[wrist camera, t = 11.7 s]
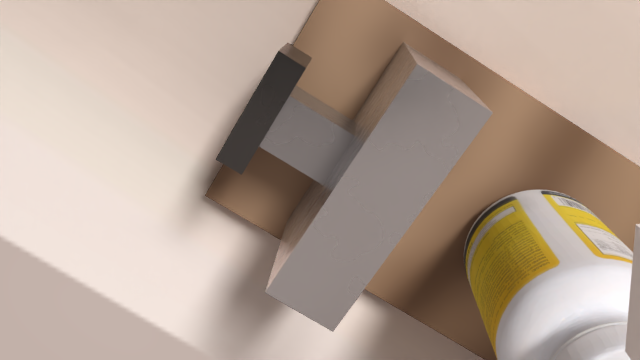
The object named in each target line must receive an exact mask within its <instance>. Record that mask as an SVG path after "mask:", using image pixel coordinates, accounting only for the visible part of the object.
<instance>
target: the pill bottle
mask: <svg viewBox="0 0 640 360" xmlns="http://www.w3.org/2000/svg"><path fill="white" fill-rule="evenodd" d="M632 262H633V252H632V251H631V250H630V249H629V248H628V247H627V246H626V245H625V244H624V243H623V242H622V241H621V240H620V239H619V238H618V237H617V236H616V235H615V234H614V233H613V232H612V231H611V230H610V229H609V228H608V227H607V226H606V225H605V224H604V223H603V222H602V221H601V220H600V219H599V218H598V217H597V216H596V215H595V214H594V213H593V212H592V211H591V210H590V209H588V208H587V207H586V206H585V205H583V204H582V203H581V202H579V201H578V200H576V199H574V198H572V197H570V196H568V195H565V194H563V193H559V192H556V191H550V190H526V191H521V192H517V193H514V194H511V195H508V196H506V197H504V198H502V199H500V200H498V201H497V202H495V203H493V204H492V205H491V206H489V207H488V208H487V209H486V210H485V211H484V212H483V213H482V214H481V215H480V216H479V217H478V218H477V220H476V221H475V222H474V224H473V226H472V227H471V229H470V231H469V234H468V236H467V239H466V243H465V248H464V266H465V271H466V275H467V279H468V282H469V284H470V286H471V289H472V292H473V295H474V297H475V300H476V303H477V306H478V308H479V311H480V314H481V317H482V319H483V322H484V325H485V328H486V331H487V333H488V336H489V339H490V341H491V344H492V347H493V350H494V352H495V355H496V358H497V360H631V359H630V357H629V356H628V355H627V353H626V352H625V345H626V333H627V322H628V310H629V298H630V286H631V274H632Z"/></svg>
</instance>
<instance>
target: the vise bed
mask: <svg viewBox="0 0 640 360" xmlns="http://www.w3.org/2000/svg"><path fill="white" fill-rule="evenodd" d="M403 42H404V43H406V44H407V45H409V46H410V47H412V48H414V49H415V50H417V51H418V52H420V53H421V54H423V55H424V56H426V57H428V58H429V59H431V60H432V61H434V62H435V63H437V64H438V65H440V66H441V67H443V68H445V69H446V70H448V71H449V72H451V73H452V74H454V75H455V76H457V77H459V78H460V79H461V80H462V81H463V82H464V83H465V84H466V85H467V86H468V87H469V88H470V89H471V90H472V91H473V92H474V93H475V94H476V95H477V96H478V97H479V98H480V100H481V101H482V102H483V103H484V104H485V105H486V106H487V107H488V108H489V109H490V110H491V111H492V112H493V113H492V115H491V116H490V118H489V119H488V120H487V122H486V123H485V124H484V126H483V127H482V129H481V130H480V131H479V133H478V134H477V135H476V137H475V138H474V139H473V141H472V142H471V144H470V145H469V146H468V148H467V149H466V150H465V152H464V153H463V155H462V156H461V157H460V159H459V160H458V161H457V163H456V164H455V165H454V167H453V168H452V170H451V171H450V172H449V174H448V175H447V176H446V178H445V179H444V181H443V182H442V183H441V185H440V186H439V187H438V189H437V190H436V191H435V193H434V194H433V196H432V197H431V198H430V200H429V201H428V202H427V204H426V205H425V206H424V208H423V209H422V211H421V212H420V213H419V215H418V216H417V217H416V219H415V220H414V222H413V223H412V224H411V226H410V227H409V228H408V230H407V231H406V232H405V234H404V235H403V237H402V238H401V239H400V241H399V242H398V243H397V245H396V246H395V248H394V249H393V250H392V252H391V253H390V254H389V256H388V257H387V258H386V260H385V261H384V263H383V264H382V265H381V267H380V268H379V269H378V271H377V272H376V274H375V275H374V276H373V278H372V279H371V280H370V282H369V283H368V284H367V286H366V287H365V289H366V290H367V291H369V292H371V293H372V294H374V295H376V296H377V297H379V298H381V299H383V300H384V301H386V302H388V303H389V304H391V305H393V306H395V307H396V308H398V309H400V310H401V311H403V312H405V313H407V314H408V315H410V316H412V317H413V318H415V319H417V320H418V321H420V322H422V323H424V324H425V325H427V326H429V327H430V328H432V329H434V330H436V331H437V332H439V333H441V334H442V335H444V336H446V337H448V338H449V339H451V340H453V341H454V342H456V343H458V344H459V345H461V346H463V347H465V348H466V349H468V350H470V351H471V352H473V353H475V354H477V355H478V356H480V357H482V358H483V359H485V360H497V358H496V355H495V352H494V350H493V347H492V344H491V341H490V339H489V336H488V333H487V331H486V328H485V325H484V322H483V319H482V317H481V314H480V311H479V308H478V306H477V303H476V300H475V297H474V295H473V292H472V289H471V286H470V284H469V282H468V279H467V275H466V271H465V266H464V248H465V243H466V239H467V236H468V234H469V231H470V229H471V227H472V226H473V224H474V222H475V221H476V220H477V218H478V217H479V216H480V215H481V214H482V213H483V212H484V211H485V210H486V209H487V208H488V207H489V206H491V205H492V204H493V203H495V202H497V201H498V200H500V199H502V198H504V197H506V196H508V195H511V194H514V193H517V192H521V191H526V190H550V191H556V192H559V193H563V194H565V195H568V196H570V197H572V198H574V199H576V200H578V201H579V202H581V203H582V204H583V205H585V206H586V207H587V208H588V209H590V210H591V211H592V212H593V213H594V214H595V215H596V216H597V217H598V218H599V219H600V220H601V221H602V222H603V223H604V224H605V225H606V226H607V227H608V228H609V229H610V230H611V231H612V232H613V233H614V234H615V235H616V236H617V237H618V238H619V239H620V240H621V241H622V242H623V243H624V244H625V245H626V246H627V247H628V248H629V249H630V250H631V251H632V252H633V250H634V238H635V226H636V224H640V167H639V166H638V165H636V164H635V163H633V162H632V161H630V160H629V159H627V158H625V157H624V156H622V155H621V154H619V153H618V152H616V151H615V150H613V149H612V148H610V147H609V146H607V145H606V144H604V143H602V142H601V141H599V140H598V139H596V138H595V137H593V136H592V135H590V134H589V133H587V132H586V131H584V130H582V129H581V128H579V127H578V126H576V125H575V124H573V123H572V122H570V121H569V120H567V119H566V118H564V117H563V116H561V115H559V114H558V113H556V112H555V111H553V110H552V109H550V108H549V107H547V106H546V105H544V104H543V103H541V102H540V101H538V100H536V99H535V98H533V97H532V96H530V95H529V94H527V93H526V92H524V91H523V90H521V89H520V88H518V87H517V86H515V85H513V84H512V83H510V82H509V81H507V80H506V79H504V78H503V77H501V76H500V75H498V74H497V73H495V72H493V71H492V70H490V69H489V68H487V67H486V66H484V65H483V64H481V63H480V62H478V61H477V60H475V59H474V58H472V57H470V56H469V55H467V54H466V53H464V52H463V51H461V50H460V49H458V48H457V47H455V46H454V45H452V44H451V43H449V42H447V41H446V40H444V39H443V38H441V37H440V36H438V35H437V34H435V33H434V32H432V31H431V30H429V29H428V28H426V27H424V26H423V25H421V24H420V23H418V22H417V21H415V20H414V19H412V18H411V17H409V16H408V15H406V14H404V13H403V12H401V11H400V10H398V9H397V8H395V7H394V6H392V5H391V4H389V3H388V2H386V1H385V0H319V2H318V4H317V6H316V7H315V9H314V11H313V12H312V14H311V16H310V17H309V19H308V21H307V23H306V24H305V26H304V28H303V29H302V31H301V33H300V34H299V36H298V38H297V40H296V41H295V43H294V45H293V46H294V47H296V48H297V49H299V50H301V51H302V52H304V53H305V54H307V55H309V56H310V57H312V59H311V61H310V63H309V64H308V66H307V68H306V69H305V71H304V73H303V74H302V76H301V77H300V79H299V81H298V82H297V84H296V86H298V87H300V88H301V89H303V90H304V91H306V92H308V93H309V94H311V95H312V96H314V97H316V98H317V99H319V100H321V101H322V102H324V103H325V104H327V105H329V106H330V107H332V108H333V109H335V110H337V111H338V112H340V113H341V114H343V115H345V116H346V117H348V118H350V119H351V120H353V119H354V117H355V116H356V114H357V113H358V111H359V110H360V108H361V106H362V105H363V103H364V102H365V100H366V99H367V97H368V96H369V94H370V93H371V91H372V90H373V88H374V86H375V85H376V83H377V82H378V80H379V79H380V77H381V76H382V74H383V73H384V71H385V70H386V68H387V66H388V65H389V63H390V62H391V60H392V59H393V57H394V56H395V54H396V53H397V51H398V50H399V48H400V46H401V45H402V43H403ZM313 180H314V179H312V178H311V177H309V176H307V175H306V174H304V173H302V172H301V171H299V170H297V169H296V168H294V167H292V166H291V165H289V164H287V163H286V162H284V161H282V160H281V159H279V158H277V157H276V156H274V155H272V154H271V153H269V152H267V151H266V150H264V149H262V148H261V147H258V149H257V150H256V152H255V154H254V155H253V157H252V159H251V160H250V162H249V164H248V165H247V167H246V169H245V170H244V172H243V174H242V175H241V174H239V173H238V172H236V171H234V170H233V169H231V168H229V167H228V166H226V165H224V164H223V166H222V167H221V169H220V171H219V172H218V174H217V176H216V177H215V179H214V181H213V183H212V184H211V186H210V188H209V189H208V191H207V193H206V194H205V196H207V197H208V198H210V199H212V200H213V201H215V202H217V203H219V204H220V205H222V206H224V207H225V208H227V209H229V210H231V211H232V212H234V213H236V214H237V215H239V216H241V217H242V218H244V219H246V220H248V221H249V222H251V223H253V224H254V225H256V226H258V227H260V228H261V229H263V230H265V231H266V232H268V233H270V234H272V235H273V236H275V237H277V238H278V239H280V240H281V239H282V235H283V232H284V229H285V226H286V222H287V220H288V219H289V217H290V216H291V214H292V213H293V211H294V210H295V208H296V206H297V205H298V203H299V202H300V200H301V199H302V197H303V196H304V194H305V193H306V191H307V190H308V188H309V186H310V185H311V183H312V182H313Z"/></svg>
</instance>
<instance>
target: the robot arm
mask: <svg viewBox="0 0 640 360" xmlns="http://www.w3.org/2000/svg"><path fill="white" fill-rule="evenodd" d="M625 352H626V353H627V355H628V356H629V357H630V359H631V360H640V224H636V226H635V238H634V250H633V262H632V274H631V286H630V298H629V310H628V322H627V333H626V345H625Z"/></svg>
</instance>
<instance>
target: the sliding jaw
mask: <svg viewBox="0 0 640 360" xmlns="http://www.w3.org/2000/svg"><path fill="white" fill-rule="evenodd" d="M311 59H312V57H310V56H309V55H307V54H305V53H304V52H302V51H301V50H299V49H297V48H296V47H294V46H293V45H291V44H289V43H287V44H286V45H285V46H283V47H282V48H281V49H280V50H279V51H278V53H277V54H276V56H275V58H274V60H273V61H272V63H271V65H270V67H269V68H268V70H267V72H266V73H265V75H264V77H263V79H262V80H261V82H260V84H259V85H258V87H257V89H256V91H255V92H254V94H253V96H252V97H251V99H250V101H249V103H248V104H247V106H246V108H245V110H244V111H243V113H242V115H241V116H240V118H239V120H238V122H237V123H236V125H235V127H234V128H233V130H232V132H231V134H230V135H229V137H228V139H227V141H226V142H225V144H224V146H223V147H222V149H221V151H220V153H219V154H218V156H217V158H216V160H217V161H219V162H221V163H223V164H224V165H226V166H228V167H229V168H231V169H233V170H234V171H236V172H238V173H239V174H241V175H242V174H243V172H244V170H245V169H246V167H247V165H248V164H249V162H250V160H251V159H252V157H253V155H254V154H255V152H256V150H257V149H258V147H261V148H262V149H264V150H266V151H267V152H269V153H271V154H272V155H274V156H276V157H277V158H279V159H281V160H282V161H284V162H286V163H287V164H289V165H291V166H292V167H294V168H296V169H297V170H299V171H301V172H302V173H304V174H306V175H307V176H309V177H311V178H312V179H314V180H313V182H312V183H311V185H310V186H309V188H308V190H307V191H306V193H305V194H304V196H303V197H302V199H301V200H300V202H299V203H298V205H297V206H296V208H295V210H294V211H293V213H292V214H291V216H290V217H289V219H288V220H287V222H286V226H285V229H284V232H283V235H282V239H281V242H280V245H279V248H278V252H277V255H276V258H275V261H274V265H273V268H272V271H271V274H270V278H269V281H268V284H267V287H266V291H265V293H266V294H268V295H270V296H271V297H273V298H275V299H277V300H278V301H280V302H282V303H284V304H285V305H287V306H289V307H291V308H292V309H294V310H296V311H298V312H299V313H301V314H303V315H305V316H306V317H308V318H310V319H312V320H313V321H315V322H317V323H319V324H320V325H322V326H324V327H326V328H327V329H329V330H331V331H334V330H335V328H336V327H337V325H338V324H339V323H340V321H341V320H342V319H343V317H344V316H345V315H346V313H347V312H348V310H349V309H350V308H351V306H352V305H353V304H354V302H355V301H356V300H357V298H358V297H359V295H360V294H361V293H362V291H363V290H364V289H365V287H366V286H367V284H368V283H369V282H370V280H371V279H372V278H373V276H374V275H375V274H376V272H377V271H378V269H379V268H380V267H381V265H382V264H383V263H384V261H385V260H386V258H387V257H388V256H389V254H390V253H391V252H392V250H393V249H394V248H395V246H396V245H397V243H398V242H399V241H400V239H401V238H402V237H403V235H404V234H405V232H406V231H407V230H408V228H409V227H410V226H411V224H412V223H413V222H414V220H415V219H416V217H417V216H418V215H419V213H420V212H421V211H422V209H423V208H424V206H425V205H426V204H427V202H428V201H429V200H430V198H431V197H432V196H433V194H434V193H435V191H436V190H437V189H438V187H439V186H440V185H441V183H442V182H443V181H444V179H445V178H446V176H447V175H448V174H449V172H450V171H451V170H452V168H453V167H454V165H455V164H456V163H457V161H458V160H459V159H460V157H461V156H462V155H463V153H464V152H465V150H466V149H467V148H468V146H469V145H470V144H471V142H472V141H473V139H474V138H475V137H476V135H477V134H478V133H479V131H480V130H481V129H482V127H483V126H484V124H485V123H486V122H487V120H488V119H489V118H490V116H491V115H492V113H493V112H492V111H491V110H490V109H489V108H488V107H487V106H486V105H485V104H484V103H483V102H482V101H481V100H480V98H479V97H478V96H477V95H476V94H475V93H474V92H473V91H472V90H471V89H470V88H469V87H468V86H467V85H466V84H465V83H464V82H463V81H462V80H461V79H460V78H459V77H457V76H455V75H454V74H452V73H451V72H449V71H448V70H446V69H445V68H443V67H441V66H440V65H438V64H437V63H435V62H434V61H432V60H431V59H429V58H428V57H426V56H424V55H423V54H421V53H420V52H418V51H417V50H415V49H414V48H412V47H410V46H409V45H407V44H406V43H404V42H403V43H402V45H401V46H400V48H399V50H398V51H397V53H396V54H395V56H394V57H393V59H392V60H391V62H390V63H389V65H388V66H387V68H386V70H385V71H384V73H383V74H382V76H381V77H380V79H379V80H378V82H377V83H376V85H375V86H374V88H373V90H372V91H371V93H370V94H369V96H368V97H367V99H366V100H365V102H364V103H363V105H362V106H361V108H360V110H359V111H358V113H357V114H356V116H355V117H354V119H353V120H351V119H350V118H348V117H346V116H345V115H343V114H341V113H340V112H338V111H337V110H335V109H333V108H332V107H330V106H329V105H327V104H325V103H324V102H322V101H321V100H319V99H317V98H316V97H314V96H312V95H311V94H309V93H308V92H306V91H304V90H303V89H301V88H300V87H298V86H296V84H297V82H298V81H299V79H300V77H301V76H302V74H303V73H304V71H305V69H306V68H307V66H308V64H309V63H310V61H311Z"/></svg>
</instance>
